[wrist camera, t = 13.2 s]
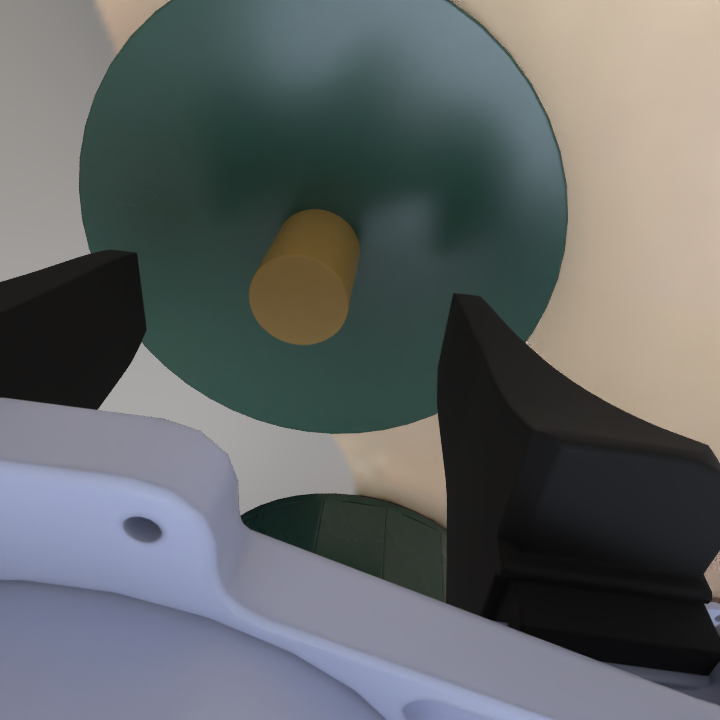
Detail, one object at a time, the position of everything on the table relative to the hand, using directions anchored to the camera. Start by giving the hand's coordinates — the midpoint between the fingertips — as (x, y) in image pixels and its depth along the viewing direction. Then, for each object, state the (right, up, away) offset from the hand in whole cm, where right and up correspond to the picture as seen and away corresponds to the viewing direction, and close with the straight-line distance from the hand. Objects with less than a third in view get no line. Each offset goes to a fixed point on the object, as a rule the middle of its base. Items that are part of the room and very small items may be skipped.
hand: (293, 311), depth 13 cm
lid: (0, +2, +3) cm, 4 cm away
